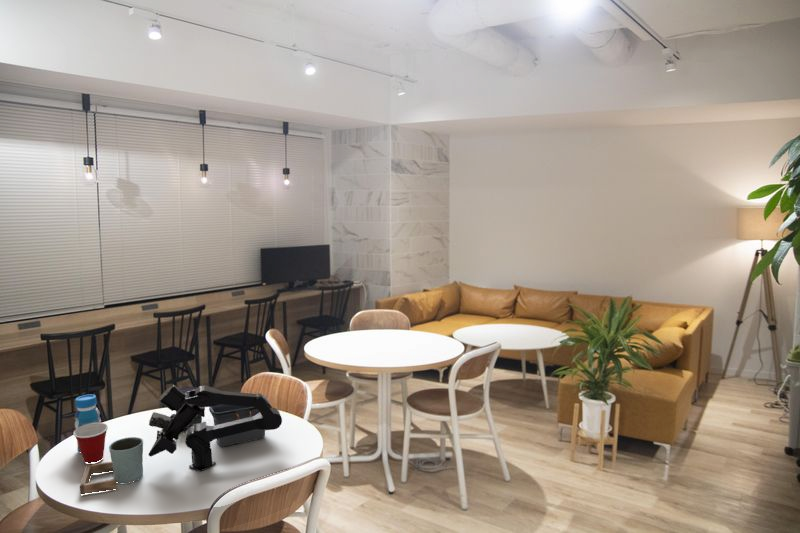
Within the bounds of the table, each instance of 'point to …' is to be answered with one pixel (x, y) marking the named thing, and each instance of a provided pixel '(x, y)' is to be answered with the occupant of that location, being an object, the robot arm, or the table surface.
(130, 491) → the table surface
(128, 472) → the green plant pot
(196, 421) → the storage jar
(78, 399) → the beverage bottle
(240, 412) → the storage bin
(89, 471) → the walnut bay
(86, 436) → the plastic cup
